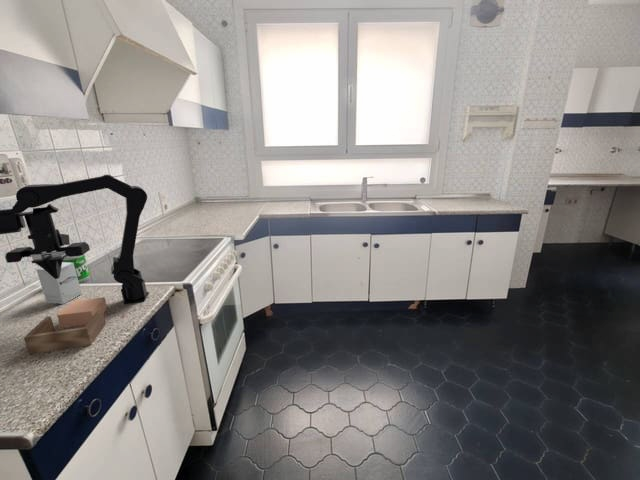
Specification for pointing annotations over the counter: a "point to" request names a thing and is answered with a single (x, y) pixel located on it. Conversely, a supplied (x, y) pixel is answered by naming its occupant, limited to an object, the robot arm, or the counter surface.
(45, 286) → the supplement box
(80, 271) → the soda can
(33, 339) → the walnut stall
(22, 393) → the counter surface
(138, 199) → the robot arm
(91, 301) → the terracotta block
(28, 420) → the counter surface
